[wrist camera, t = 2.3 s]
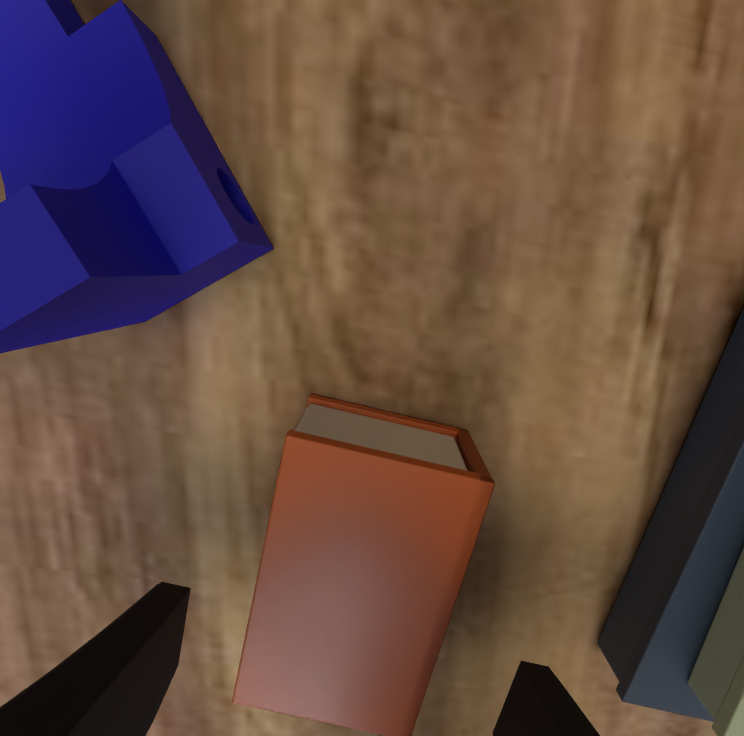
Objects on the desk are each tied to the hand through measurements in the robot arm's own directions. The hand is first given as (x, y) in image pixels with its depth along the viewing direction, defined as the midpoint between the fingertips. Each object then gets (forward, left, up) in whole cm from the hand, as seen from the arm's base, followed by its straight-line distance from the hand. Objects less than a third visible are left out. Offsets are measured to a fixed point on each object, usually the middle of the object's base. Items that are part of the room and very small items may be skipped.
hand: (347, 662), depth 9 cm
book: (0, 0, -5) cm, 5 cm away
